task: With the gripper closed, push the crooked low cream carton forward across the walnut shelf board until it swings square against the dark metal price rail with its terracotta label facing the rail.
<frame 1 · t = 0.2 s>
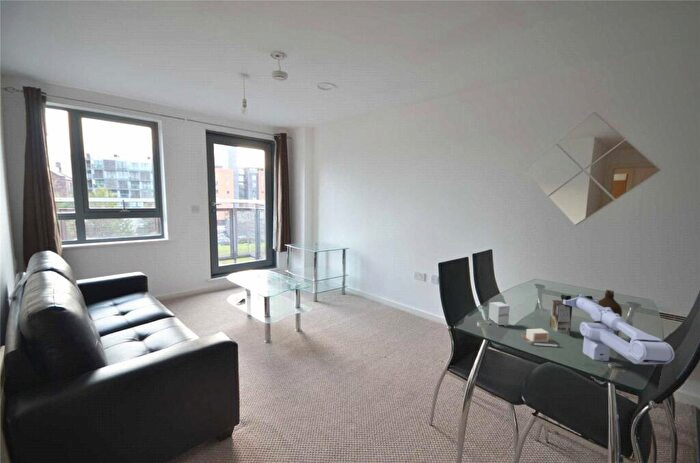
hand: (570, 296, 153), 22 cm above the table, tool horizontal, fingers open, 7 cm apart
supplement box: (498, 326, 169), on the table
cream box: (540, 342, 146), point 1 cm above the table, touching shelf
olive oil: (605, 339, 155), on the table
coffee box: (559, 332, 162), on the table
shelf: (539, 343, 148), on the table
price rail: (544, 348, 143), resting on shelf
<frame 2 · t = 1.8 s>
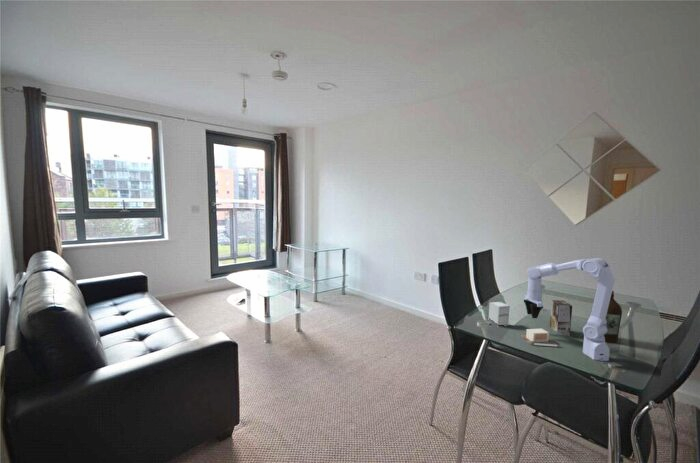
hand: (532, 316, 156), 10 cm above the table, tool pointing down, fingers open, 5 cm apart
nothing on the table moved.
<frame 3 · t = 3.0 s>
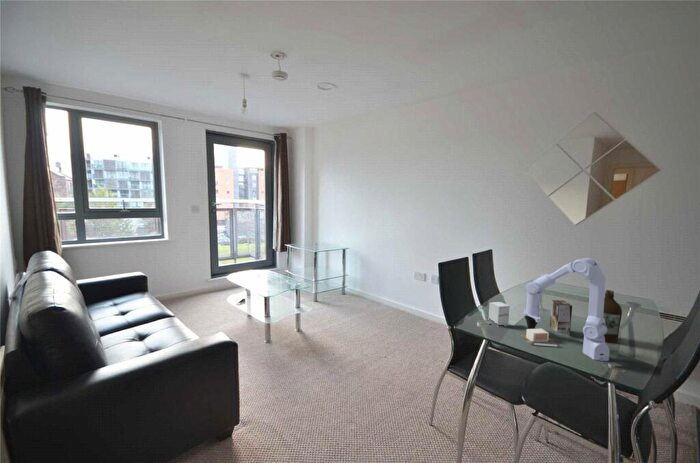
hand: (530, 330, 157), 3 cm above the table, tool pointing down, fingers closed
nothing on the table moved.
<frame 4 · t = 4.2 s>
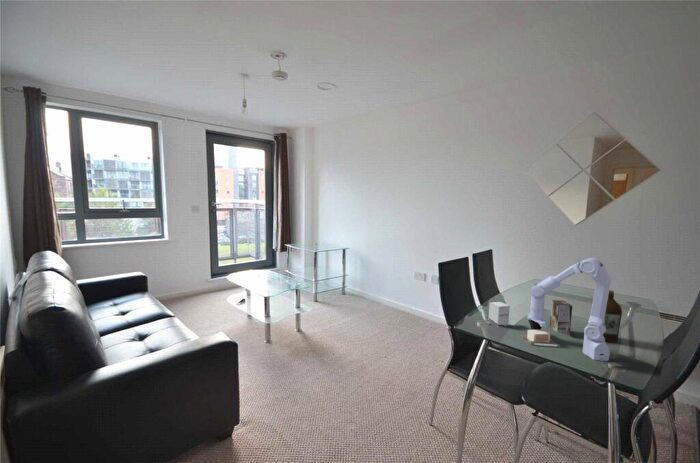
hand: (535, 335, 152), 2 cm above the table, tool pointing down, fingers closed
cream box: (541, 343, 145), point 1 cm above the table, touching shelf
everything else where it was.
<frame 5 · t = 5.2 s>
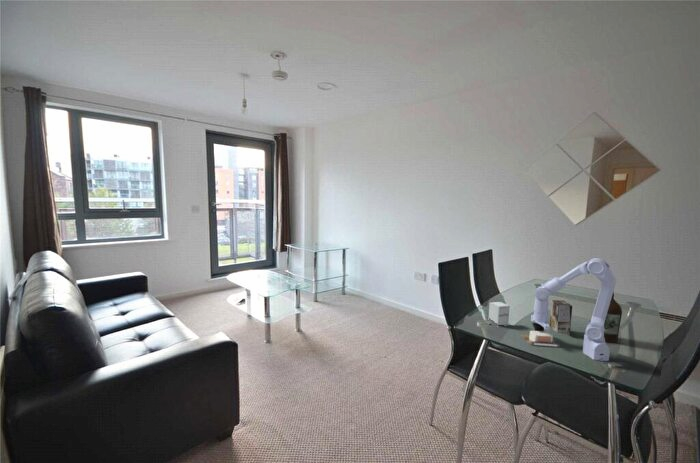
hand: (538, 338, 149), 2 cm above the table, tool pointing down, fingers closed, pressing on cream box
cream box: (543, 344, 144), point 1 cm above the table, touching gripper, price rail, shelf
everything else where it was.
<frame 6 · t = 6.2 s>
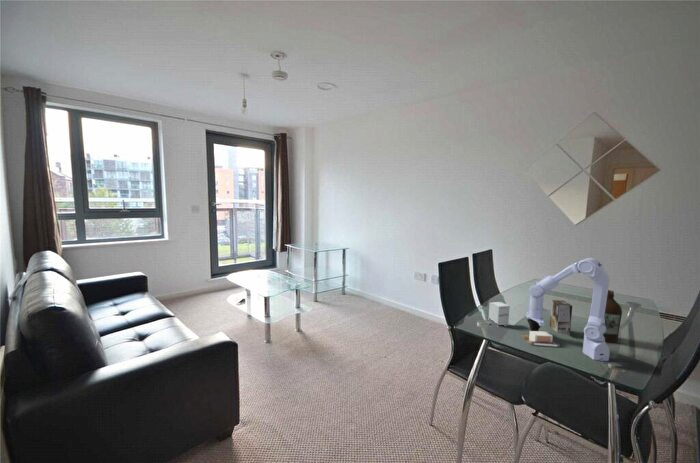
hand: (533, 334, 154), 2 cm above the table, tool pointing down, fingers closed
cream box: (543, 344, 143), point 1 cm above the table, touching shelf
everything else where it was.
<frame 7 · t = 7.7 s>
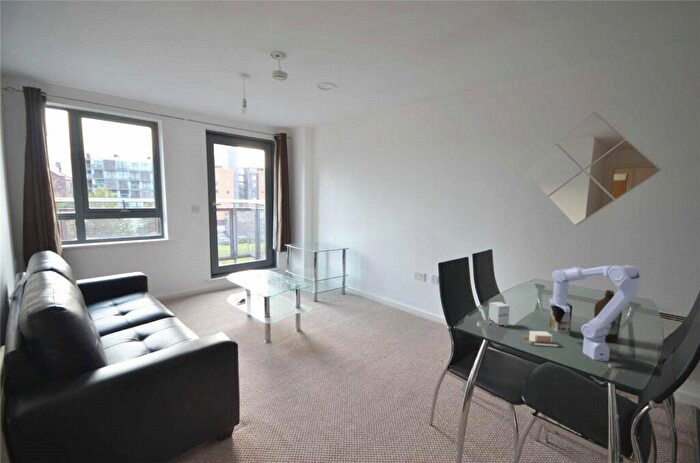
hand: (557, 321, 149), 10 cm above the table, tool pointing down, fingers closed
nothing on the table moved.
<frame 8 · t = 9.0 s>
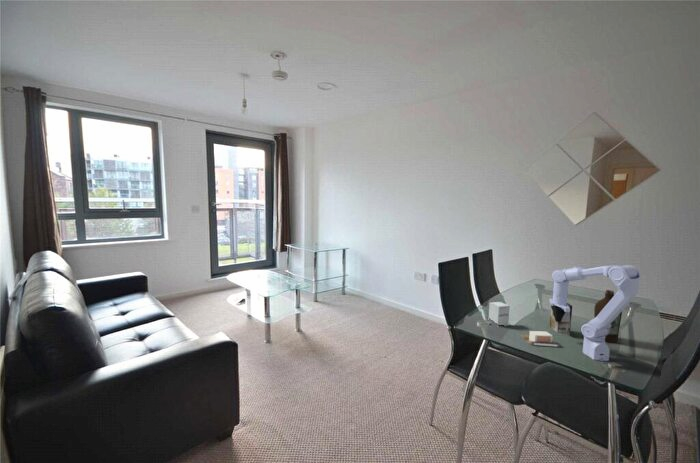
hand: (557, 321, 149), 10 cm above the table, tool pointing down, fingers closed
nothing on the table moved.
at the end: cream box 0.3 cm from the target spot, point 1.5 cm above the table; cream box tilted 0°; cream box moved 3.0 cm from its start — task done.
